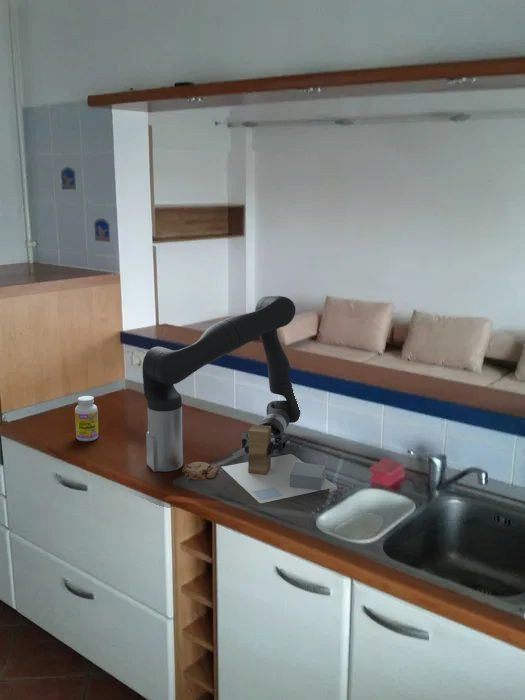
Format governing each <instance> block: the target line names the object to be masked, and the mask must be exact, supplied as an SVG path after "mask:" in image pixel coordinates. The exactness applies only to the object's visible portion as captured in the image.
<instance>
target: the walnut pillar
mask: <svg viewBox="0 0 525 700" xmlns="http://www.w3.org/2000/svg"><path fill="white" fill-rule="evenodd" d="M248 435H249V454H247V455H248V459H247V460H248V461H247V462H248V473H252V474H261V475H267V473H268V472H269V470H270V468H271V458H272V454H270V456H267V455H266V453H267V447H268V446H269V444H271V426H264V425H259V424H252V425H251V427H250V429H248Z"/></svg>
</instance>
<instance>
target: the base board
mask: <svg viewBox="0 0 525 700" xmlns="http://www.w3.org/2000/svg"><path fill="white" fill-rule="evenodd" d="M221 468H222V470H223V471H225V473H227V474H228V475H229V476H230V477H231V478H232V479H233V480H234V481H236V483H237V484H238V485H240V486H241V487H242V489H244V490H245V491H246V492H247V493H249V494H250V496H251V497H253V498H254V499H255V500H256V501H257V502H258V503H259V504H265V503H268V502H273V501H278V500H282V499H283V500H284V499H288V498H292V497H295V496H296V497H297V496H301V495H306V494H310V493H314V492H320V491H324V490H328V489H329V491H328V492H329V493H331V492H335V491H337V490H338V485H336V484H334V483H333V482H332V481H330V480H328V479H327V478H326V468H327V467H326V465H325V464H318V463H316V464H315V463H307V462H304V461H302V460H301V459H299V458H298V457H297V456H295V455H294V454H293V453H289V454H283V455H279V456H273V457H272V456H271V468H270V470H269V472H268V473H267V475H261V474H252V473H248V461H246V462H241V463H236V464H230V465H224V466H221ZM259 507H260V508H264V506H263V505H259Z"/></svg>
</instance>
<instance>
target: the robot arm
mask: <svg viewBox="0 0 525 700" xmlns="http://www.w3.org/2000/svg"><path fill="white" fill-rule="evenodd" d="M295 315H296V305H295V303H294V301H293V300H291V299H290V298H289V297H286V296H281V295H275V296H274V295H273V296H271V295H270V296H263V297H261V298H259V300H258V301H257V303H256V305H255V310H254V311H251V312H247V313H243V314H238V315H236V316H235V315H234V316H231V317H227V318H225V319H223V320H220V321H218V322H216V323H215V324H212V325H211V326H209V327H208V328H206V329H205V331H203V332H202V334H201V336H199V339H198V340H197V341H196V342H193V344H192V343H191V344H190V345H189V346H185V347H183V348H180V349H175V350H173V349H171V348H167V347H163V346H154V347H152V348H150V349H148V351H147V352H146V353H145V355H144V357H143V360H142V367H141V368H142V371H141V372H142V382H143V383H142V385H143V394H144V397H145V400H146V402H147V431H146V433H145V438H146V439H145V440H146V441H145V442H146V443H145V446H146V465H147V466H148V467H149V469H151V471H152V472H154V473H155V472H172V471H177V470H179V469H181V468H183V465H184V464H183V463H184V461H183V460H184V455H183V453H184V452H183V404H182V403H183V402H182V401H183V400H182V396H181V394H180V393H179V392H178V391H177V388H175V385H176V384H179V383H180V382H182V381H184V380H185V379H186V378H188V377H190V376H191V375H192V374H195V372H197V371H199V370H200V369H201V368H203V367H204V366H206V365H208V364H211V363H213V362H214V361H216V360H218V359H220V358H222V357H224V356H226V355H228V354H230V353H232V352H234V351H236V350H238V349H241V348H242V347H243V346H245V345H247V344H249V343H250V342H252V341H254V340H256V339H258V338H259V337H260V338H261V342H262V346H263V350H264V355H265V360H266V365H267V374H268V384H269V385H268V386H269V391H270V393H271V394H275V395H279V396H281V397H283V398H284V399H285V400H284V399H283V400H273V401H270V402H268V404H267V405H266V409H265V410H266V413H265V414H266V416H265V417H264V418H262V420H261V421H260V423H259V424H258V425H264V426H271V444H269V446H268V447H267V453H266V455H267V456H270V454H271V455H273V454H274V453H275V452H276V451H278V452H283V451H284V450H285V449H287V448H288V447H290V443H291V441H290V440H291V438H290V436H289V435H285V434H286V430H287V428H288V427H289V424H293V423H297V422H298V421H299V420H300V418H301V409H300V410H299V407H300V406H299V407H298V404H299V403H298V404H297V402H298V400H297V398H296V399H295V397H296V395H295V396H294V394H295V392H294V393H293V391H294V388H292V387H293V383H292V384H291V383H290V380H289V368H290V369H291V366H290V362H289V359H288V357H287V355H286V353H285V351H284V349H283V347H282V344H281V342H280V339H279V335H278V329H280V328H284V327H286V326H288V325H290V323H291V322H292V321H293V320H294V318H295ZM296 400H297V401H296ZM299 417H300V418H299ZM284 435H285V436H284ZM241 448H243V449H244V452H245V454H247V455H248V454H249V433H247V432H246V431H242V433H241Z"/></svg>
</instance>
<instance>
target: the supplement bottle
mask: <svg viewBox="0 0 525 700" xmlns="http://www.w3.org/2000/svg"><path fill="white" fill-rule="evenodd" d="M94 399H95V397H94V396H91V395H82V396H79V397H78V398H77V403H78V404H77V405H76V407H75V408H74V419H75V420H74V421H75V437H76V439H77V440H78V441H81V442H92V441H95V440H96V439H98V437H99V419H98V418H99V416H98V415H99V414H98V413H99V411H98V406H97V405H96V404H94V402H95V400H94Z"/></svg>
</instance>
